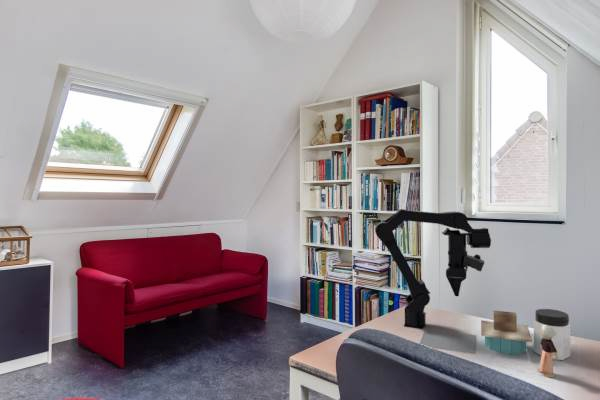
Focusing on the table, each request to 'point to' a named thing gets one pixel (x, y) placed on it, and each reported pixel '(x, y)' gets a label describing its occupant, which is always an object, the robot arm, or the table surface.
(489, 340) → the bowl
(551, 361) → the grandmother figurine
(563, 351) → the jar
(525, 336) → the cover board
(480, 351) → the table surface
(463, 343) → the mat
